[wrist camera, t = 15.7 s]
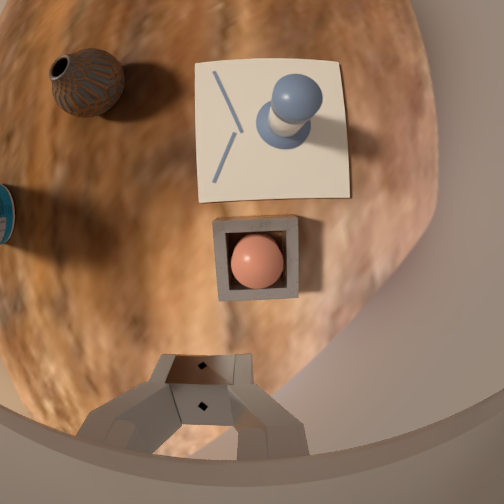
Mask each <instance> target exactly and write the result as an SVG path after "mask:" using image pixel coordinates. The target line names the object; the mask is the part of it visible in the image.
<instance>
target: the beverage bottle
mask: <svg viewBox="0 0 504 504" xmlns="http://www.w3.org/2000/svg"><path fill="white" fill-rule="evenodd" d="M14 223H15V208H14V202H13V198H12V196H11V193H10V192H9V190H8V189H7V188H6V187H5V186H4V185H2V184H0V245H1V244H3V243H5V242H7V241H8V239H9V238H10V236H11V234H12V232H13V228H14Z"/></svg>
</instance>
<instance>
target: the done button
mask: <svg viewBox="0 0 504 504" xmlns="http://www.w3.org/2000/svg"><path fill="white" fill-rule="evenodd" d="M231 268H232V272H233V274H234V276H235V278H236V279H237V280H238V281H239V282H240V283H241V284H242V285H244V286H246V287H249V288H253V289H261V288H265V287H268V286H270V285H272V284H273V283H274V282H275V281H277V279H278V278H279V277H280V275H281V273H282V270H283V257H282V254H281V252H280V250H279V247H278V245H277V243H276V242H275V240H274V239H273V238H272V237H271V236H269V235H268V234H265V233H262V232H251V233H248V234H246V235H244V236H243V237H241V238H240V239H239V240H238V242H237V243H236V245H235V248H234V252H233V256H232V260H231Z"/></svg>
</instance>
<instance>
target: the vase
mask: <svg viewBox="0 0 504 504" xmlns="http://www.w3.org/2000/svg"><path fill="white" fill-rule="evenodd" d="M49 77H50V79H51V81H52V93H53V96H54V99H55V101H56V103H57V104H58V105H59V106H60V107H61V109H63V110H64V111H65V112H67V113H69V114H71V115H74V116H77V117H94V116H98V115H100V114H103V113H105V112H106V111H108V110H109V109H110V108H112V107H113V106H114V105H115V103H116V102H117V101H118V99H119V98H120V96H121V94H122V92H123V89H124V85H125V75H124V71H123V68H122V66H121V64H120V63H119V61H118V60H117V59H116V58H115V57H114V56H113V55H111V54H110V53H108V52H106V51H104V50H100V49H94V48H89V49H83V50H79V51H77V52H74V53H72V54H65V55H62V56H60V57H58V58H57V59H56V60H55V61H54V62H53V64H52V66H51V68H50V70H49Z"/></svg>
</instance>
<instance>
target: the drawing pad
mask: <svg viewBox="0 0 504 504" xmlns="http://www.w3.org/2000/svg"><path fill="white" fill-rule="evenodd" d="M289 74H302V75H305V76H308V77H310V78H311V79H313V80H314V81H315V82H316V83H317V84H318V85H319V87H320V89H321V91H322V95H323V102H322V105H321V107H320V109H319V110H318V111H317V112H316V114H315V115H314V116H313V117H312V118H311V119H310V120H309V121H307V122H306V123H305V124H304V125H303V126H302V127H301V128H300V129H299V131H298V132H297V133H296V134H295V135H293V136H291V137H288V138H282V137H278V136H276V135H274V134H273V133H272V132H271V131H270V129H269V127H268V123H267V120H268V115H269V111H270V107H271V97H272V93H273V89H274V86H275V84H276V83H277V81H278V80H279V79H280V78H282V77H284V76H286V75H289ZM195 123H196V154H197V176H198V194H199V203H205V202H220V201H237V200H258V199H286V198H350V183H349V159H348V142H347V129H346V118H345V108H344V99H343V90H342V83H341V75H340V69H339V62H333V61H322V60H309V59H284V58H262V59H237V60H223V61H213V62H204V63H196V64H195Z"/></svg>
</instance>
